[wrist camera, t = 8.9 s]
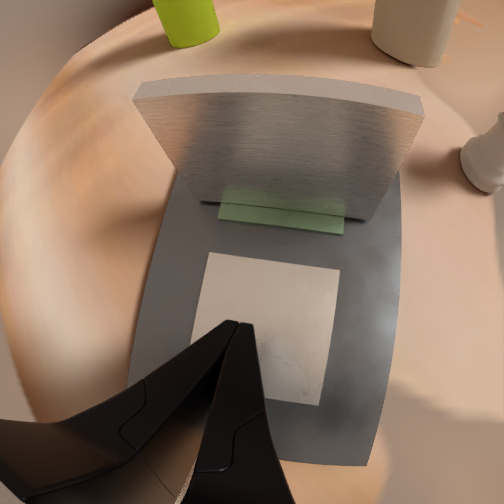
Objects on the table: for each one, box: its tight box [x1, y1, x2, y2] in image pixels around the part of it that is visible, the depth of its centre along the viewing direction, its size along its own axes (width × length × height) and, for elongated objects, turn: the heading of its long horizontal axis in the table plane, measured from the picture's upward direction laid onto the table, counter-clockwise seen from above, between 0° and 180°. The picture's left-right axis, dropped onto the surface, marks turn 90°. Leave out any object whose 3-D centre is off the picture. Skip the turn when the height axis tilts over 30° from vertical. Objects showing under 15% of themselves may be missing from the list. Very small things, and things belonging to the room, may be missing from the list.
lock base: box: [126, 170, 401, 466], centre depth 13 cm, size 20×14×6 cm
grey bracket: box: [132, 74, 425, 221], centre depth 13 cm, size 6×10×8 cm, turn 80°
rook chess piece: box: [460, 112, 504, 193], centre depth 13 cm, size 4×4×8 cm
